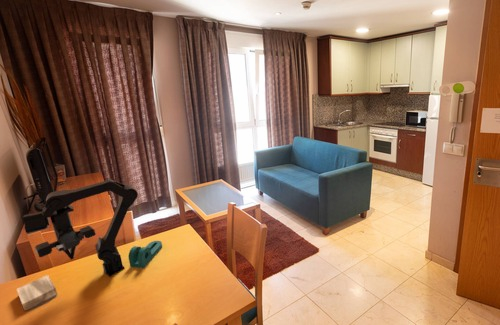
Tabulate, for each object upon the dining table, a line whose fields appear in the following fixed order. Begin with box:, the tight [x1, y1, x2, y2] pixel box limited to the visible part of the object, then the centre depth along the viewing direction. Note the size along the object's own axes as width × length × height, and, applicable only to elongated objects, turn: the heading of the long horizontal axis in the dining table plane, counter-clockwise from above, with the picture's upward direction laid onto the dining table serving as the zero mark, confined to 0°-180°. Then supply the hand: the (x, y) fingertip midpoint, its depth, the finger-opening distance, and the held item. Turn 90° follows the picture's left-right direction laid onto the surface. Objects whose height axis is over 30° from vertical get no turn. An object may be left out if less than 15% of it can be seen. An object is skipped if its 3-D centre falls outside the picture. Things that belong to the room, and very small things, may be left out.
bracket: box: [128, 240, 163, 269], centre depth 121 cm, size 18×7×8 cm, turn 168°
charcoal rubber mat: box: [29, 295, 57, 311], centre depth 101 cm, size 8×14×1 cm, turn 49°
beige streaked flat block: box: [16, 274, 58, 312], centre depth 100 cm, size 3×12×10 cm
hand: (71, 258), depth 103 cm, fingers closed
